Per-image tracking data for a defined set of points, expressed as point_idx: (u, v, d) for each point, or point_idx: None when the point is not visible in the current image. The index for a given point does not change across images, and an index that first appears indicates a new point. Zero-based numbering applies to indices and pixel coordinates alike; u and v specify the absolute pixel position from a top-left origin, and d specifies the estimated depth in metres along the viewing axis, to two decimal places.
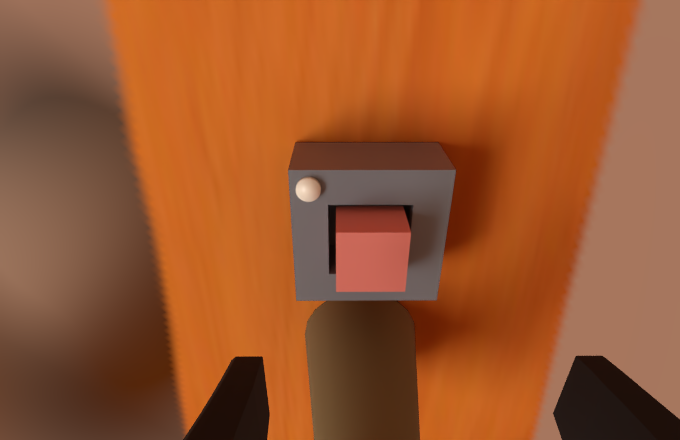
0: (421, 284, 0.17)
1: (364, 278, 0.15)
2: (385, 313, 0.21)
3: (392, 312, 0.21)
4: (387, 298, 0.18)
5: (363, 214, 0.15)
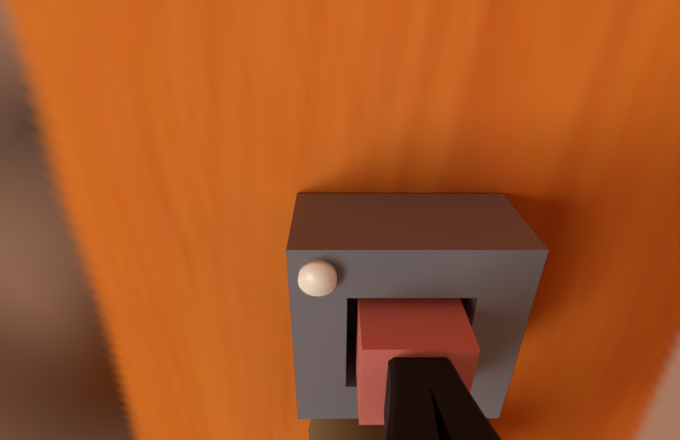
0: (479, 399, 0.12)
1: None
2: None
3: None
4: None
5: (400, 309, 0.10)
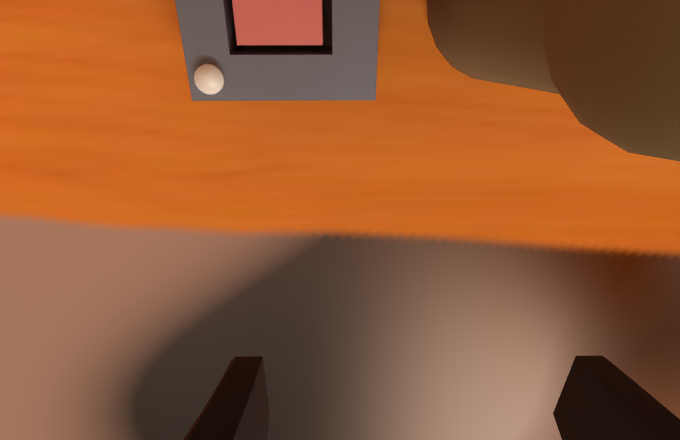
0: None
1: (300, 6, 0.12)
2: None
3: None
4: None
5: None
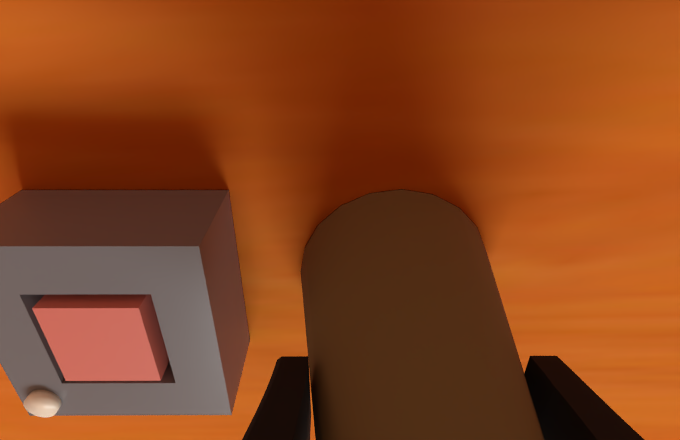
0: (167, 272, 0.10)
1: (128, 353, 0.11)
2: (310, 266, 0.12)
3: (316, 250, 0.12)
4: (207, 316, 0.11)
5: None
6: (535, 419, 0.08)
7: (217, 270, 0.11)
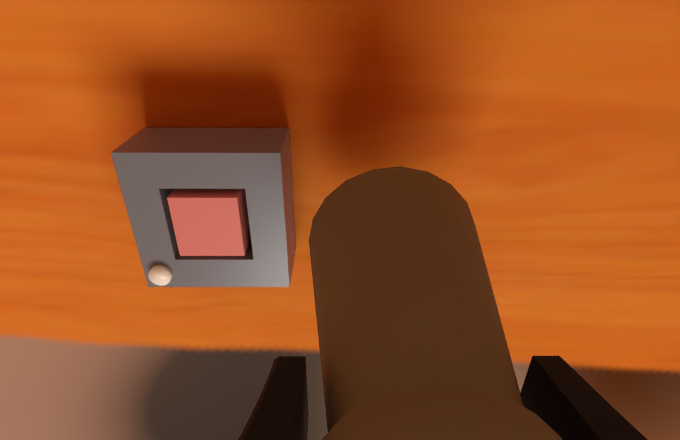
0: (257, 172, 0.15)
1: (225, 233, 0.16)
2: (318, 232, 0.14)
3: (324, 218, 0.14)
4: (280, 205, 0.16)
5: None
6: (504, 347, 0.09)
7: (285, 178, 0.16)
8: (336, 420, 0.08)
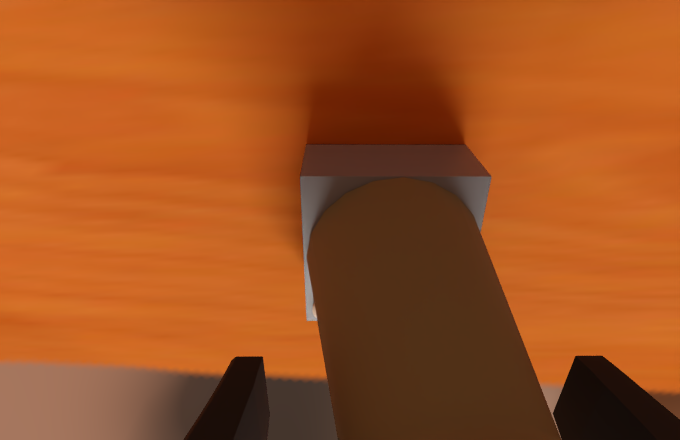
0: (460, 197, 0.13)
1: None
2: (318, 248, 0.13)
3: (324, 233, 0.13)
4: None
5: None
6: (534, 373, 0.08)
7: None
8: None
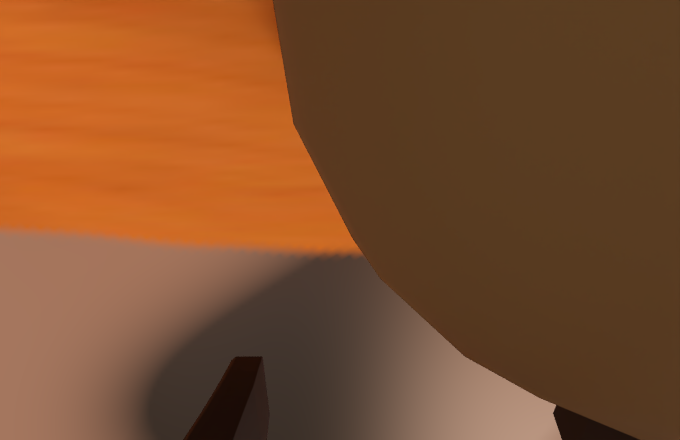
0: None
1: None
2: None
3: None
4: None
5: None
6: None
7: None
8: None
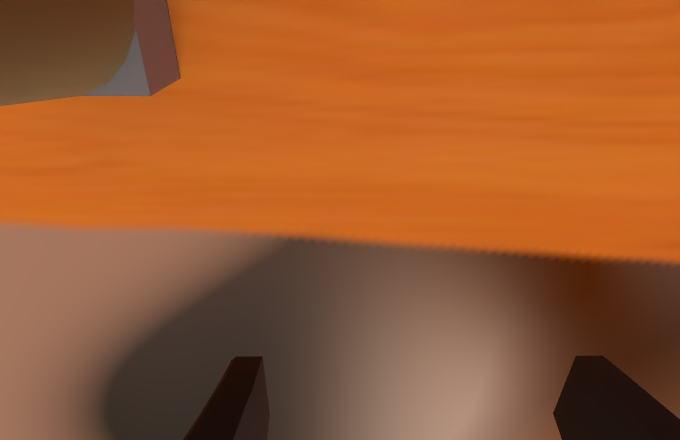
0: None
1: None
2: None
3: None
4: None
5: None
6: None
7: None
8: None
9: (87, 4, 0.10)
